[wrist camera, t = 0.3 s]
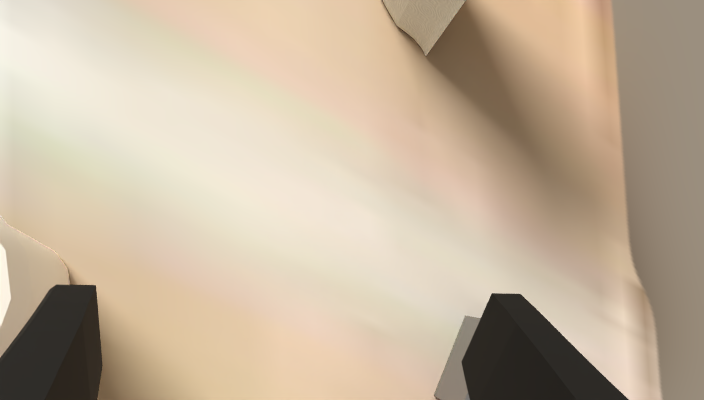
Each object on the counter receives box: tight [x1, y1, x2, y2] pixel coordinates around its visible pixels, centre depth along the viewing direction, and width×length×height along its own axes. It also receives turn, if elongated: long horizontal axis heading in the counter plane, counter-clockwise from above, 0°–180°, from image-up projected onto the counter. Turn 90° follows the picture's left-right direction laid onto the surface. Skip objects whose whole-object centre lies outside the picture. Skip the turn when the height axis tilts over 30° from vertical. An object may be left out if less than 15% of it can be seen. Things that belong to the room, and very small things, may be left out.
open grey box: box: [434, 316, 481, 400], centre depth 38 cm, size 6×6×6 cm
